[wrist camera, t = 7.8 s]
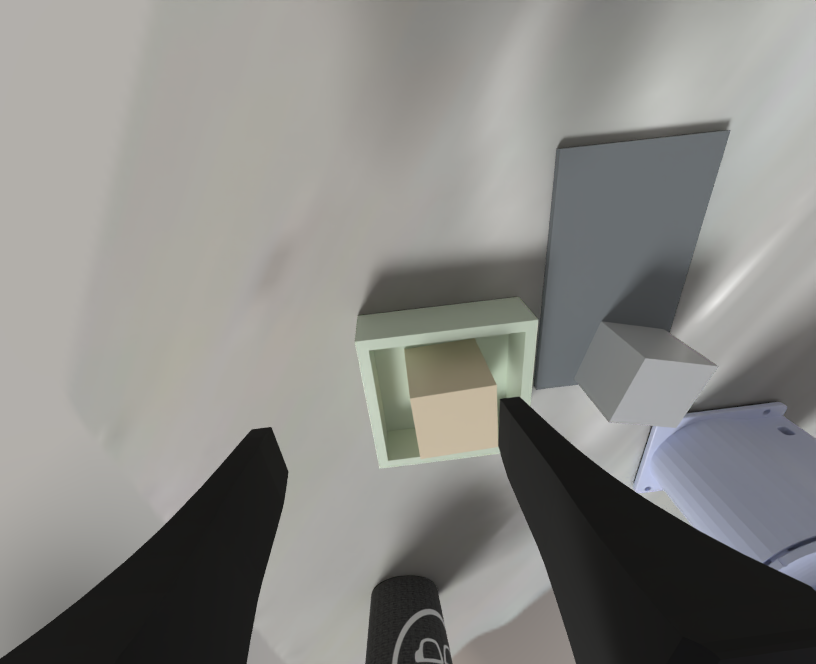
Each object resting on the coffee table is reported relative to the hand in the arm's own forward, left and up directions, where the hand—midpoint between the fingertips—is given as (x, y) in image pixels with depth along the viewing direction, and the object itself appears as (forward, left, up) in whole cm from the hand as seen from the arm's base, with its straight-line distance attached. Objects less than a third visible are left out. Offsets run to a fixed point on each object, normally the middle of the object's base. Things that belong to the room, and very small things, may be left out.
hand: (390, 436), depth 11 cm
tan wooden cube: (-3, +5, -10) cm, 11 cm away
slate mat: (-13, 0, -10) cm, 16 cm away
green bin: (-3, +5, -10) cm, 11 cm away
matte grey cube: (-14, +5, -10) cm, 18 cm away
